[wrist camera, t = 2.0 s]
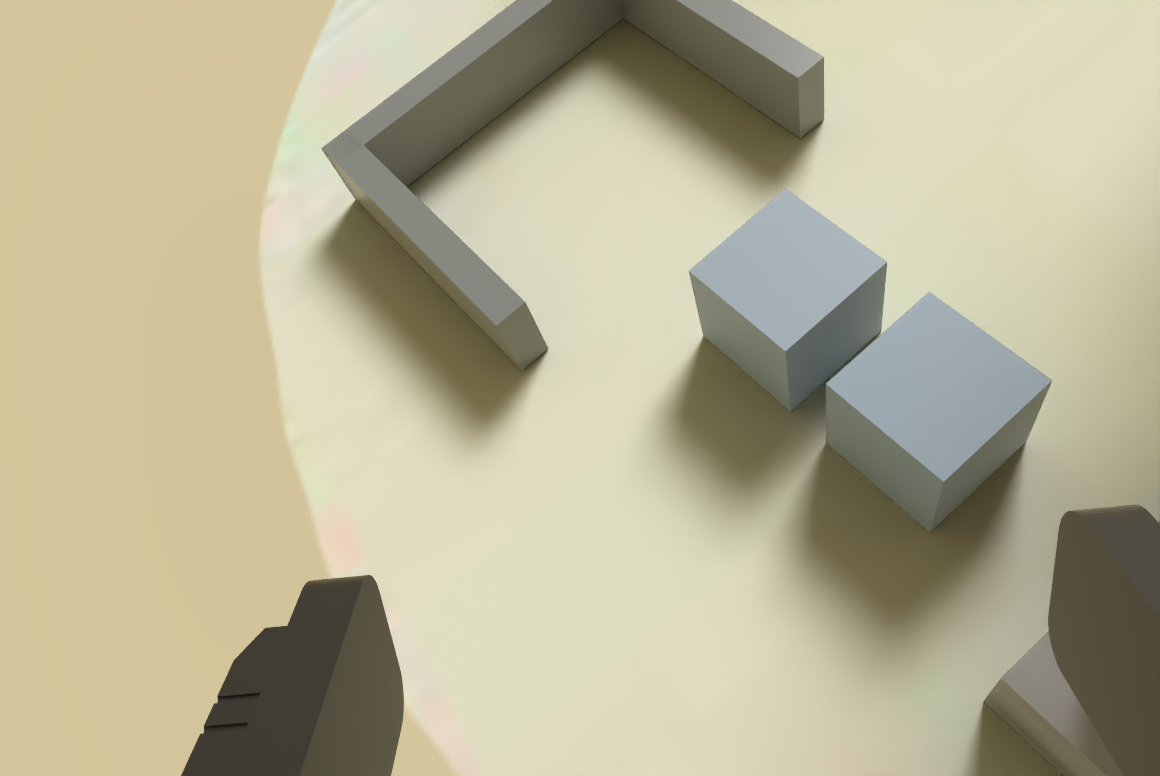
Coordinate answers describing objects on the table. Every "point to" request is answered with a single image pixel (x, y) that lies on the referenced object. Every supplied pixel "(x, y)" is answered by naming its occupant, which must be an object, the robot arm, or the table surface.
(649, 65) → the table surface
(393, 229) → the grey u-shaped wall
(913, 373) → the block
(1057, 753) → the tall wooden pillar
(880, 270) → the block
